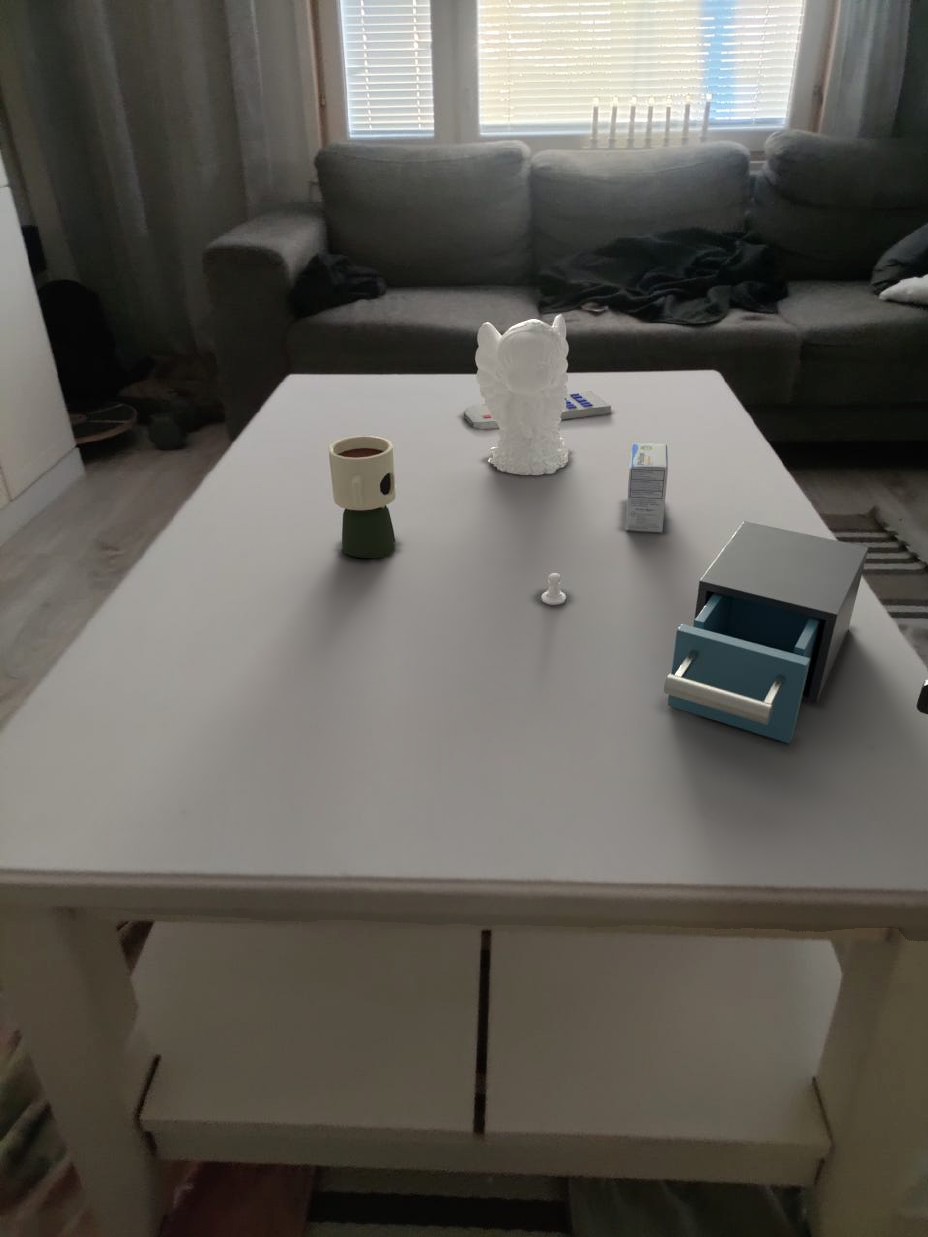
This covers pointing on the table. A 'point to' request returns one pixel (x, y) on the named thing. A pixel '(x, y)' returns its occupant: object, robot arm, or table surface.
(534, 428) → the cherub figurine
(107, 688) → the table surface
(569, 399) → the remote control
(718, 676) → the open teal drawer
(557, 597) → the chess pawn
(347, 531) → the character mug
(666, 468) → the medicine box
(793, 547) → the small drawer unit
